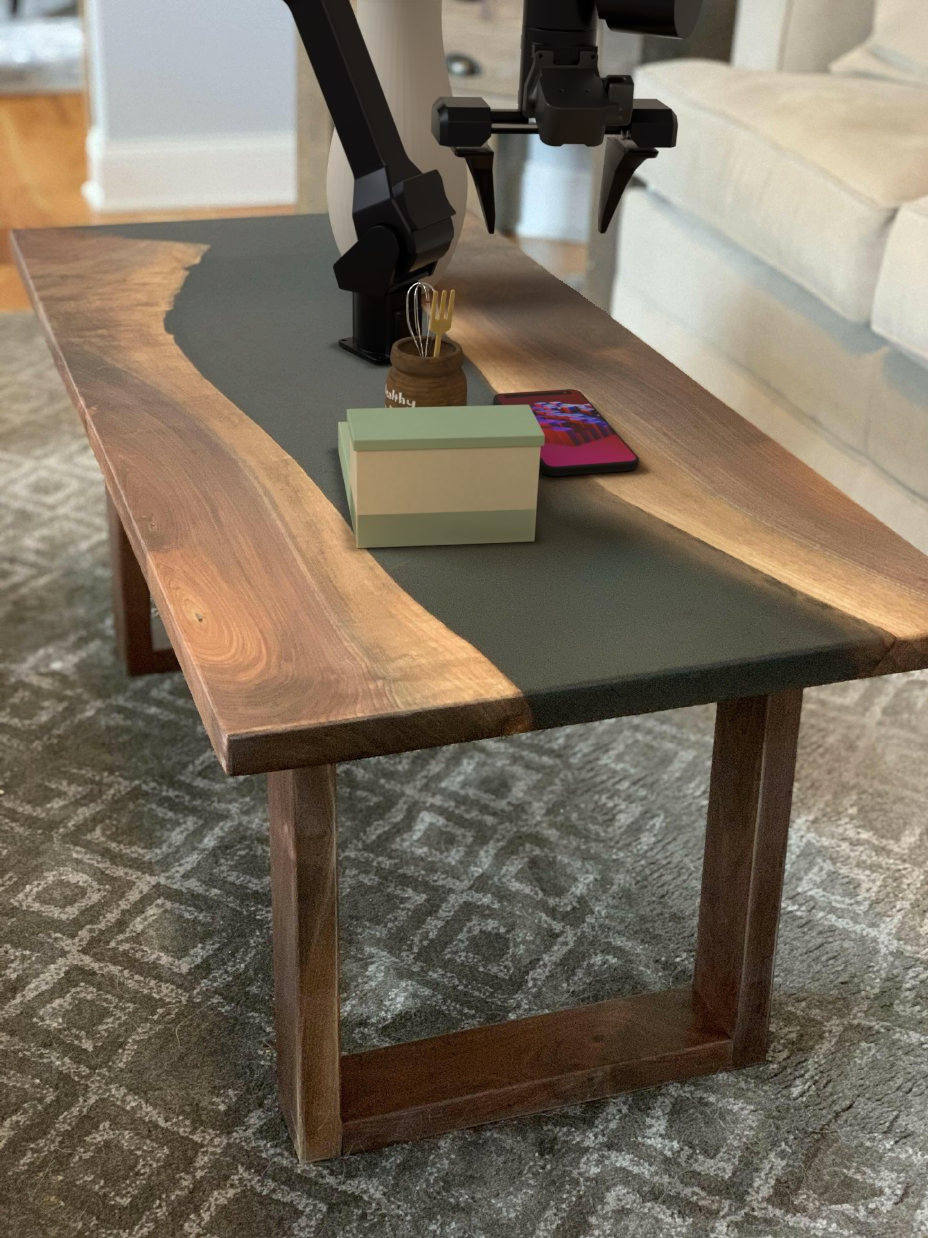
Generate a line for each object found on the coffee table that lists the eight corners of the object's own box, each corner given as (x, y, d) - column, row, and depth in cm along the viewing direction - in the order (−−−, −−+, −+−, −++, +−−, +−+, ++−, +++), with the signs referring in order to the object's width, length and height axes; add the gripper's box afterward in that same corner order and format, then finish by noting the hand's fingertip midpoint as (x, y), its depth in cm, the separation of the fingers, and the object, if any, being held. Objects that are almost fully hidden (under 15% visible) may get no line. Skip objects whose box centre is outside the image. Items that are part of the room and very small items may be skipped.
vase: (312, 305, 138) (305, -31, 123) (347, 267, 149) (345, -44, 134) (449, 318, 136) (460, -22, 121) (474, 278, 147) (487, -36, 132)
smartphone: (545, 468, 103) (490, 393, 116) (544, 479, 104) (489, 403, 116) (643, 461, 105) (579, 387, 117) (642, 472, 105) (578, 397, 118)
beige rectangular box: (335, 452, 107) (334, 353, 103) (496, 447, 108) (501, 350, 105) (353, 549, 93) (353, 440, 89) (537, 542, 95) (545, 434, 91)
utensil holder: (449, 419, 107) (454, 262, 101) (478, 451, 101) (485, 287, 95) (374, 427, 105) (375, 267, 99) (400, 460, 100) (403, 293, 94)
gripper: (453, 39, 98) (446, 261, 106) (709, 43, 101) (685, 259, 109) (432, 18, 108) (428, 223, 116) (667, 22, 111) (647, 222, 118)
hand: (546, 232), depth 114 cm, fingers open, 9 cm apart
